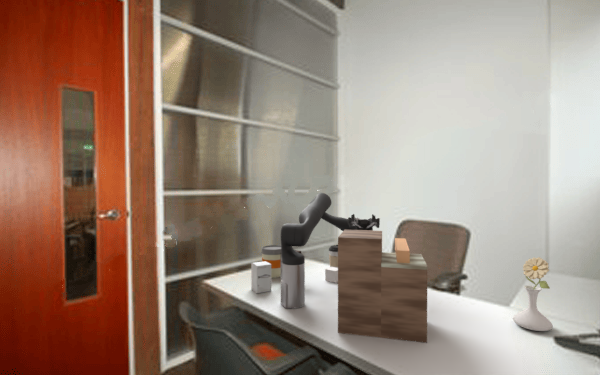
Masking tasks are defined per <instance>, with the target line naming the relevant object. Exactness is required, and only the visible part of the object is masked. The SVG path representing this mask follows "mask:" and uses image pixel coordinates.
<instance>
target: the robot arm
mask: <svg viewBox="0 0 600 375" xmlns="http://www.w3.org/2000/svg"><path fill="white" fill-rule="evenodd" d="M331 206H332V199H331V197H330V196H329V195H328V194H327V193H324V192H319V193H317V194H316V195H315V196H314V197H313V199H312V200H311V201H310V202H309V204H308V205H307V206H306V207H305V208H304V209H303V210H302V211H301V212H300V213H299V216H298V221H299V223H296V222H295V223H292V222H291V223H290V222H288V223H284V224H282V226H281V229H280V246H281V255H282V280H281V279H280V305H282V306H283V307H284V308H285V309H298V308H299V309H300V308H302V307H303V306H305V304H306V302H305V300H306V297H305V296H306V290H305V289H306V288H305V287H306V286H305V284H306V281H305V277H306V276H305V275H306V274H305V273H306V272H305V268H306V266H305V264H306V263H305V262H306V259H305V255H304V254H302V253H301V254H300V253H298V252H296V251H295V250H296V249H294V248H293V247H297V248H298V247H305V246H306V244H308V242H309V239H310V237H311V235H312V233H313V231H314V230H315V228H316V226H317V225H318V224H319V223H320V221H321V219H322V221H323V220H324V221H325V222H327V223H329V224H331V225H332V226H334V227H336V228H337V229H339V230H340V231H342V232H343V231H344V230H371V231H374V229H373V228H374V227H375V228H376V229H379V228H380V222H381V221H380V220H381V218H379V217H378V218H376V215H375V214H372V215H371V217H370V218H368V219H366V218H364V219H362V218H359V217H355V214H354V213H353V214H351V216H350V217H347V218H345V217H339V216H336V215H331V214H329V213H327V211H328V210H329V208H330V207H331Z"/></svg>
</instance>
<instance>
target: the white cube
mask: <svg viewBox="0 0 600 375" xmlns="http://www.w3.org/2000/svg"><path fill="white" fill-rule="evenodd" d="M324 270H325V271H324V272H325V274H324V275H325V276H324V279H325V280H326V282H329V281H331V282H330V283H333V282H335V283H334V284H336V283H338V268H335V267H330V266H329V267H328V268H325V269H324ZM325 280H324V281H325Z"/></svg>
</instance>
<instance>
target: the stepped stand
mask: <svg viewBox="0 0 600 375" xmlns="http://www.w3.org/2000/svg"><path fill="white" fill-rule="evenodd" d="M337 245H338V282H337V333H338V334H343V335H344V334H346V335H353V336H354V335H355V336H363V337H372V338H382V339H389V340H390V339H391V340H398V341H406V340H407V341H408V342H415V341H416V343H425V344H427V343H428V265H427V262H426V261H425V258H424V257H423V254H422V253H410V263H397V260H396V252H384V251H383V230H373V231H371V230H344V231H342V232H341V233H340V234H339V235H338V236H337Z"/></svg>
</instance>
